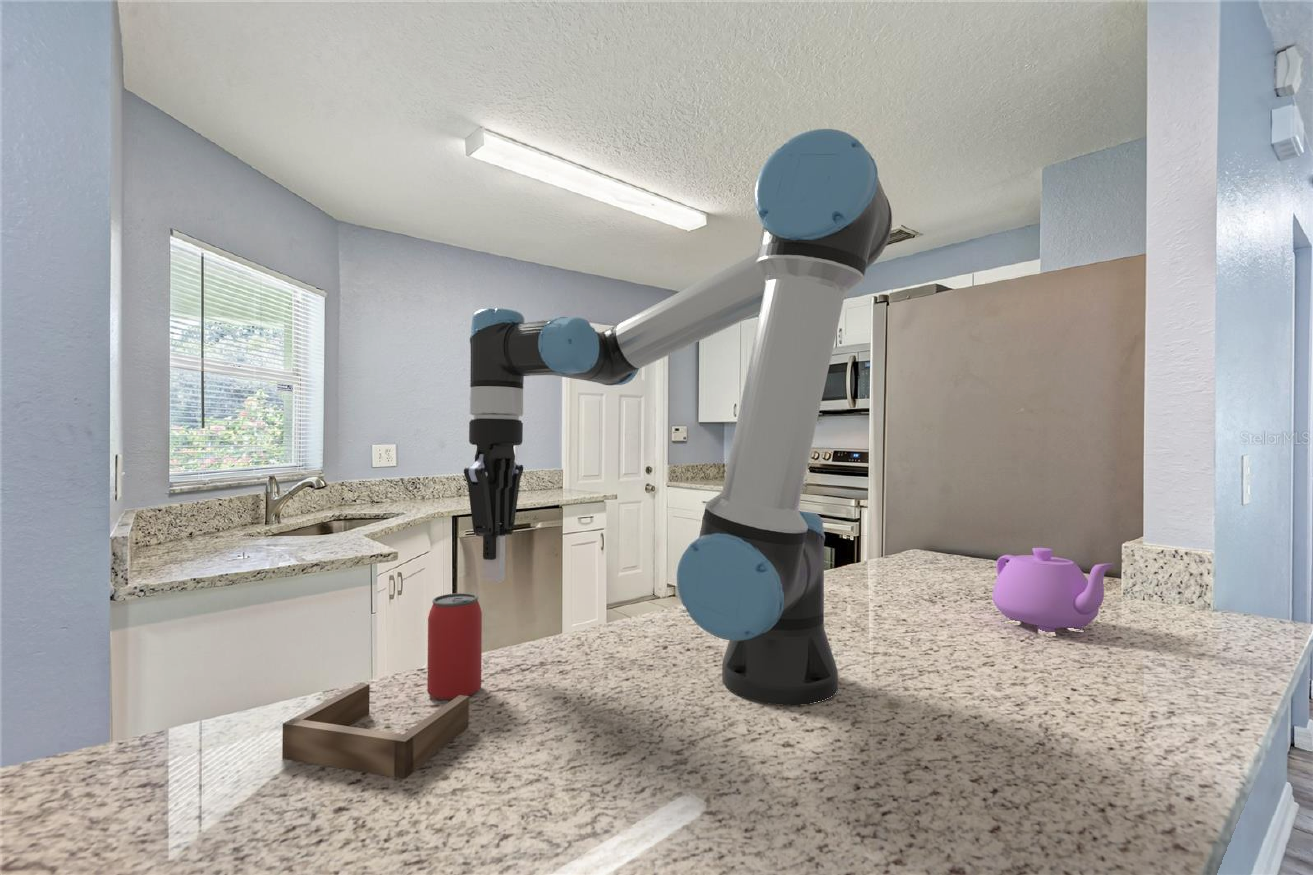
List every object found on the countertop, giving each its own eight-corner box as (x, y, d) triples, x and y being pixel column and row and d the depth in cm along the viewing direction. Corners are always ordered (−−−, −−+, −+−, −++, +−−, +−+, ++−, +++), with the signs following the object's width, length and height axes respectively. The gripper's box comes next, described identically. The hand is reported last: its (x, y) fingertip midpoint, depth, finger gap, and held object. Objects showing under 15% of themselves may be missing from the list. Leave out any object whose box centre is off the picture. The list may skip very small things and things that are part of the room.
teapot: (1148, 643, 97) (1147, 557, 97) (1077, 653, 92) (1076, 563, 92) (1026, 608, 118) (1025, 538, 118) (963, 615, 113) (962, 542, 113)
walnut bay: (468, 727, 67) (468, 696, 67) (404, 779, 57) (405, 741, 57) (360, 712, 71) (361, 682, 71) (282, 758, 61) (282, 723, 61)
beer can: (465, 705, 73) (465, 606, 73) (416, 700, 74) (417, 603, 75) (490, 684, 80) (491, 593, 80) (445, 680, 81) (446, 590, 81)
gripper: (496, 419, 95) (493, 570, 94) (447, 415, 82) (444, 589, 82) (540, 420, 93) (537, 573, 92) (496, 416, 80) (493, 593, 80)
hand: (493, 580), depth 87 cm, fingers closed
